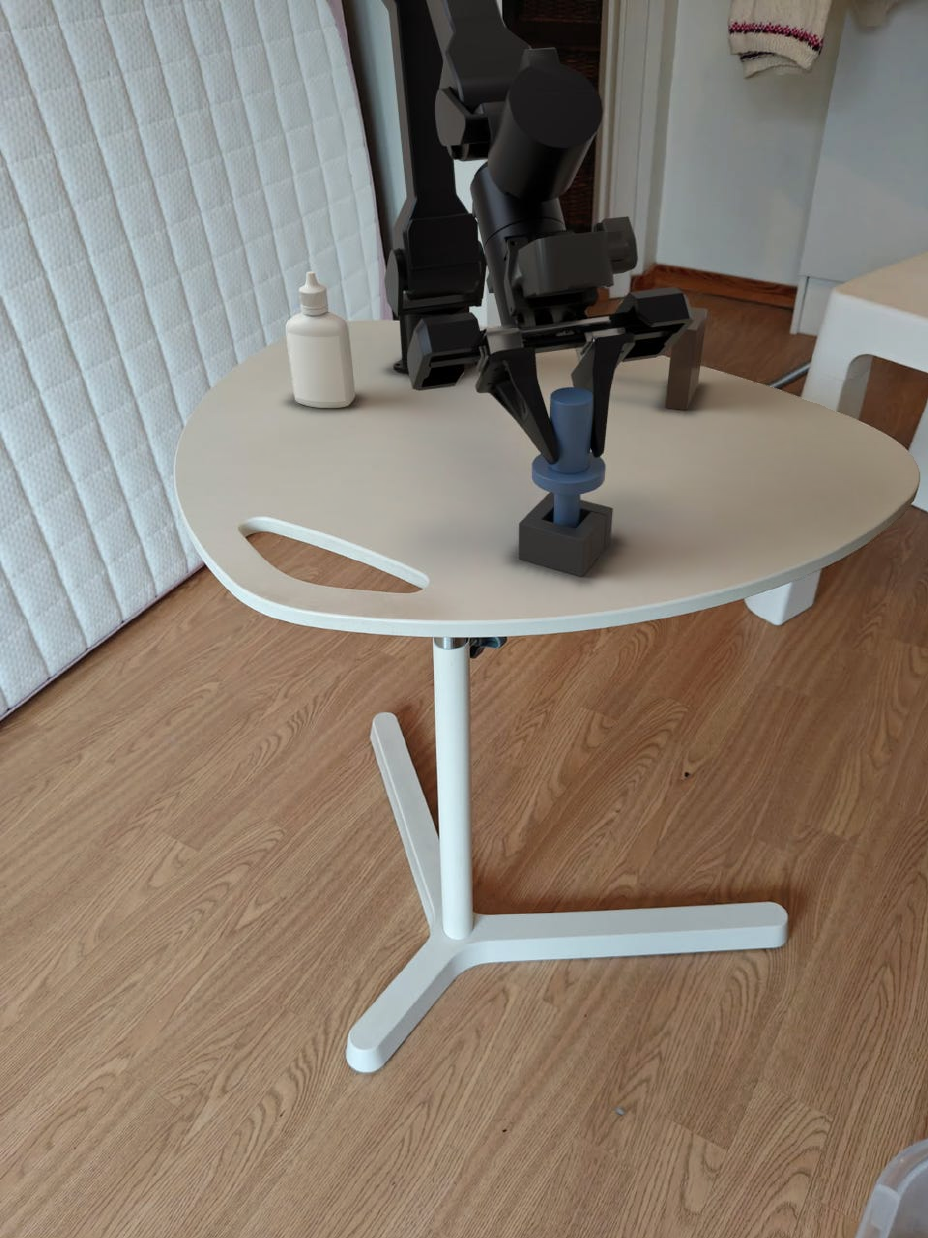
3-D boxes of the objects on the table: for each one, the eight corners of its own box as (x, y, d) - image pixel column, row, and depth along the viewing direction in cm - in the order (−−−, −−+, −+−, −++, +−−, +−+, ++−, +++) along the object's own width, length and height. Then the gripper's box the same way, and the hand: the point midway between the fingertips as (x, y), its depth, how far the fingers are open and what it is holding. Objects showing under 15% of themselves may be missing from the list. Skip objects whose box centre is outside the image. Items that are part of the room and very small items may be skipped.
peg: (518, 558, 70) (519, 402, 63) (548, 526, 73) (553, 374, 66) (582, 577, 68) (591, 418, 61) (610, 543, 71) (622, 388, 64)
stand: (601, 399, 91) (606, 320, 87) (616, 376, 95) (621, 299, 91) (686, 410, 89) (696, 329, 84) (697, 386, 93) (707, 308, 88)
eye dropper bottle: (327, 417, 90) (312, 285, 82) (288, 400, 93) (270, 272, 85) (362, 401, 92) (350, 272, 85) (323, 385, 95) (308, 260, 88)
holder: (518, 558, 70) (518, 522, 68) (548, 526, 73) (549, 491, 72) (582, 577, 68) (584, 540, 66) (610, 543, 71) (613, 507, 70)
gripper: (406, 184, 57) (463, 438, 55) (698, 156, 61) (761, 393, 59) (386, 279, 68) (433, 494, 66) (635, 250, 72) (687, 453, 70)
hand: (577, 459), depth 65 cm, fingers closed on peg, 3 cm apart
